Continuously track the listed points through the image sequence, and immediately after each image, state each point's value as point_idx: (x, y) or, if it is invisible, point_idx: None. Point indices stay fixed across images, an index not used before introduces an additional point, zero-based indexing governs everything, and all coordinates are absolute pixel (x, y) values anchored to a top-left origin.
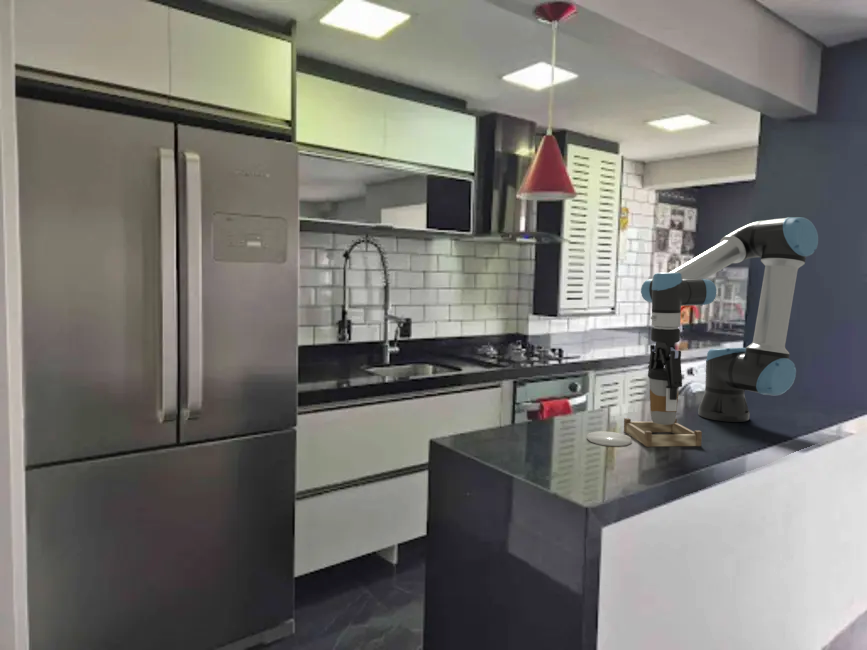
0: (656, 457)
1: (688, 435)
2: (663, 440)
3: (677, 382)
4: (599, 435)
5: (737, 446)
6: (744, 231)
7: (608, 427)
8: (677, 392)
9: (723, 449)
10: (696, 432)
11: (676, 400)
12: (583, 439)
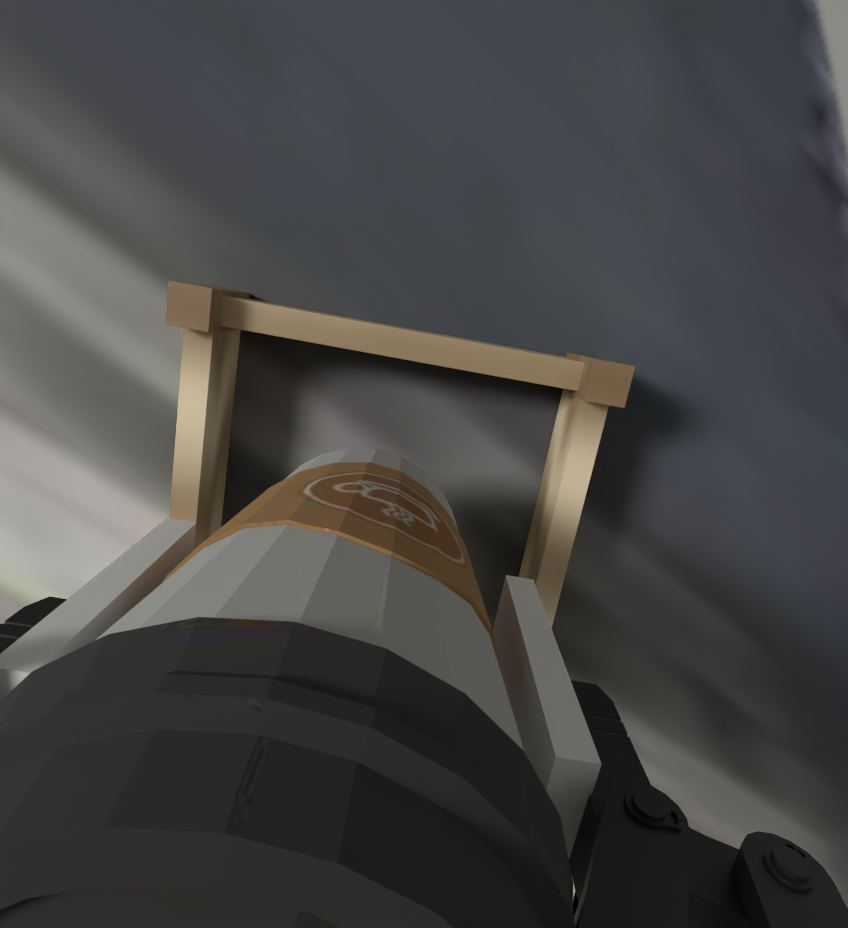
0: (700, 749)
1: (593, 462)
2: None
3: (683, 885)
4: None
5: (683, 79)
6: None
7: None
8: (471, 613)
9: (707, 253)
10: (615, 405)
11: (556, 646)
12: None
